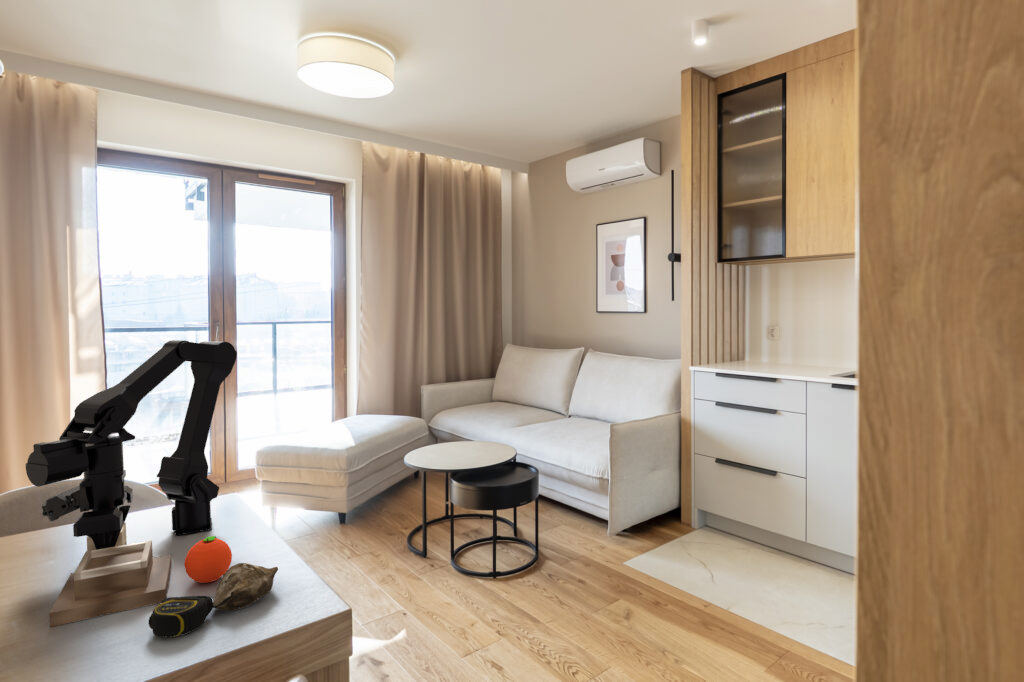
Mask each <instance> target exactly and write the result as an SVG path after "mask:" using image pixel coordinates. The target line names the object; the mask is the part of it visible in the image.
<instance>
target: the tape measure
mask: <svg viewBox="0 0 1024 682" xmlns="http://www.w3.org/2000/svg"><path fill="white" fill-rule="evenodd" d="M213 601H214V599H213V598H212V597H211V596H207V595H186V596H172V597H171V596H170V597H167V598H165V599H164V600H163V601H162V603H158V604H157V605H156V606H155V607H154V608H153V610H152V613H151V614H150V616H149V617H148V627H149V628H150V629H151V630H152V634H153V635H154V636H156V637H160V638H175V637H179V636H183V635H186V634H189V633H192V632H194V631H195V630H197V629H199V628H201V627H202V625H204V624H205V622H206V620H207V617H208V616H209V615H210V614H211V612H212V611H213V609H214V608H213Z"/></svg>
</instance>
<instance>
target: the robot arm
mask: <svg viewBox="0 0 1024 682" xmlns="http://www.w3.org/2000/svg"><path fill="white" fill-rule="evenodd" d="M237 356H238V352H237V350H236V349H235V347H234V345H233V344H232V343H230V342H228V341H206V340H205V341H200V342H199V343H198V342H193V341H189V340H183V339H181V340H179V339H178V340H177V339H176V340H168V341H167V342H165V343H164V344H163V346H162V347H161V348H160V349H159V350H158V351H156V352H155V353H154V354H152V356H150V357H149V358H148V359H147V360H145V361H144V362H143V363H141V364H140V365H139V366H138V367H136V368H135V369H134V370H133V371H132V372H131V373H129V374H128V375H127V376H125V377H124V379H122V380H121V381H119V383H117V384H115V385H114V386H112V387H109V388H106V389H104V390H102V391H98V392H97V393H95V394H94V395H91V396H90V397H88V398H86V399H85V400H83V401H81V402H80V403H79V404H78V405H77V406H76V407H75V409H74V416H73V418H72V419H71V420H70V421H69V423H68V425H67V426H66V428H65V429H64V430H63V432H62V433H61V435H60V436H59V438H58V440H55V441H49V442H43V441H42V442H38V443H34V444H33V445H32V446H33V451H32V452H30V454H29V455H28V458H27V462H26V463H25V471H26V472H25V473H26V475H27V478H28V480H29V482H30V483H31V484H32V485H33V486H36V487H38V488H39V487H43V486H47V485H48V486H49V485H50V484H55V483H59V482H63V481H68V480H70V479H75V478H79V477H80V476H82V475H83V478H82V480H81V481H80V482H79V485H78V486H74V487H71V488H70V489H67V490H65V491H62V492H60V493H57V494H55V495H53V496H49V497H47V499H46V500H45V501H44V502H43V503H42V504H41V505H40V506H41V509H42V513H41V514H42V516H43V517H47V518H48V520H49V522H54V521H57V520H58V519H60V518H61V517H63V516H65V515H67V514H70V513H72V512H74V511H77V510H79V513H82V514H81V515H80V516H79V517H77V519H76V521H75V522H74V524H72V525H73V526H72V527H73V528H72V529H73V531H72V532H73V537H75V538H79V537H84V536H86V537H87V536H88V537H90V538H92V540H93V542H94V545H95V547H96V550H98V549H104V548H110V547H115V545H116V542H117V540H118V537H119V534H120V532H121V529H122V526H123V524H124V523H126V520H127V516H128V515H129V511H130V509H131V504H132V501H133V500H134V492H133V491H134V490H133V488H131V487H130V486H128V485H125V478H126V475H127V472H126V471H127V470H126V469H124V467H125V464H124V448H123V446H124V445H123V444H124V443H123V442H128V441H133V440H135V439H136V436H135V435H134V434H132V433H130V432H129V431H127V430H126V428H125V427H126V425H127V424H128V423H129V421H130V420H131V419H132V418H133V416H134V415H135V414H136V412H137V409H138V406H139V403H140V402H141V401H142V400H143V399H144V398H145V397H146V396H148V394H150V393H151V392H152V391H154V389H156V387H158V386H159V385H160V384H161V383H162V382H163V381H165V379H166V378H168V377H169V376H170V375H172V373H174V372H175V371H176V370H177V369H178V368H180V367H181V365H183V364H184V363H185V362H189V363H190V370H191V372H192V373H191V374H192V376H193V378H194V380H193V381H194V382H193V385H192V390H191V392H190V393H191V394H190V397H189V401H188V406H187V410H186V412H185V413H186V414H185V418H184V420H183V421H184V422H183V424H182V429H181V432H180V436H179V441H178V444H177V448H176V450H175V451H174V452H173V453H172V454H171V455H170V456H163V457H162V458H161V461H160V468H159V471H158V473H157V474H156V478H158V487H160V489H161V491H162V492H163V493H165V495H166V498H167V500H169V501H171V500H172V501H174V506H173V507H172V508H171V528H172V531H174V536H182V535H188V534H194V533H199V532H206V531H210V530H212V529H213V522H212V514H211V513H212V511H211V502H212V500H214V499H216V498H217V497H218V495H219V491H220V486H219V485H217V484H216V483H214V482H213V481H212V480H211V479H210V478H208V474H209V464H208V461H207V458H206V457H207V456H206V454H205V448H206V445H207V442H208V437H209V434H210V429H211V426H212V421H213V417H214V413H215V408H216V405H217V400H218V396H219V392H220V389H221V388H220V387H221V385H222V384H223V382H224V381H225V380H226V379H227V378H228V377H229V375H230V374H231V373H232V371H233V369H234V366H235V364H236V362H237V358H238V357H237ZM85 431H86V432H85ZM126 501H127V504H130V505H124V504H125V503H126Z"/></svg>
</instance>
